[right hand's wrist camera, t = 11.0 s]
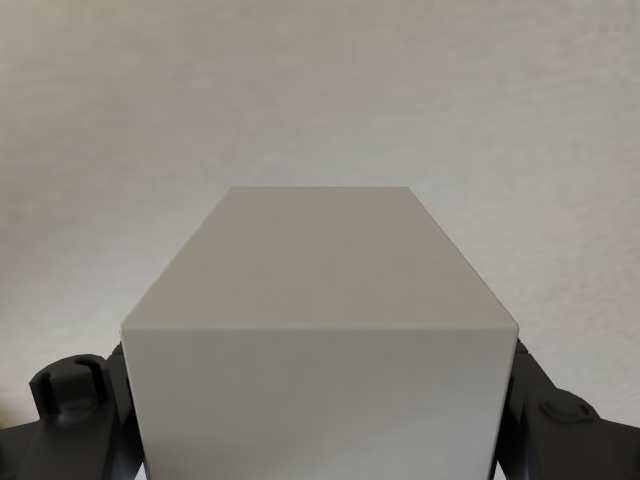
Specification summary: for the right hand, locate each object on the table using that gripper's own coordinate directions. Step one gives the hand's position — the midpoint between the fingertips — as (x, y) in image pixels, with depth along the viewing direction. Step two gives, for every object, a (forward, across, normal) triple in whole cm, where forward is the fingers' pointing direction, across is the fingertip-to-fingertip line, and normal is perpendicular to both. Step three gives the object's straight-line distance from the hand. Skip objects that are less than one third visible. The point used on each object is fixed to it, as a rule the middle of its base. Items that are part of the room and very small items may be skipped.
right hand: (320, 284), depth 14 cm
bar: (+1, 0, -8) cm, 8 cm away
